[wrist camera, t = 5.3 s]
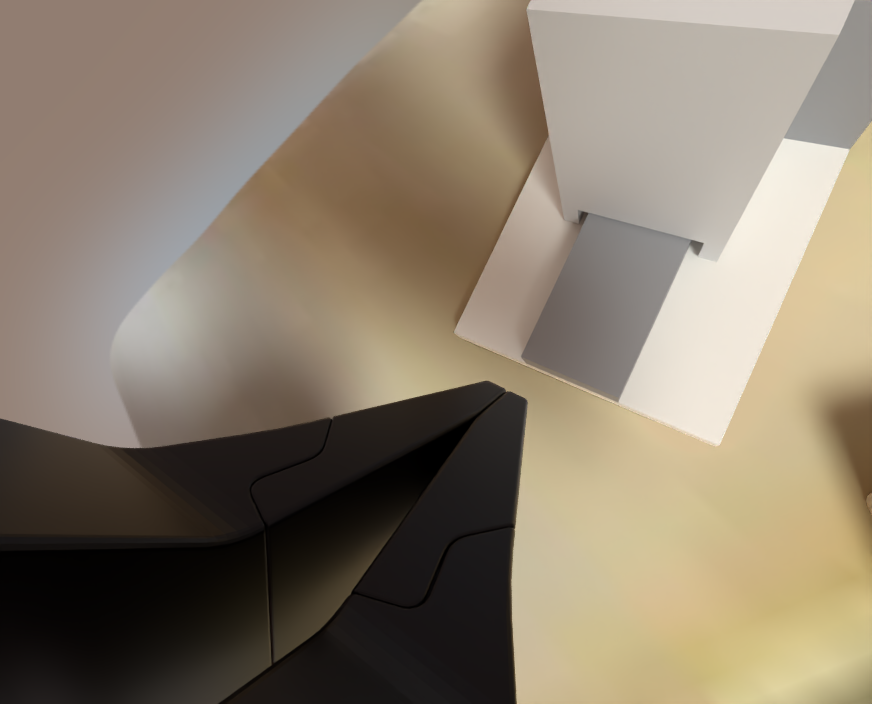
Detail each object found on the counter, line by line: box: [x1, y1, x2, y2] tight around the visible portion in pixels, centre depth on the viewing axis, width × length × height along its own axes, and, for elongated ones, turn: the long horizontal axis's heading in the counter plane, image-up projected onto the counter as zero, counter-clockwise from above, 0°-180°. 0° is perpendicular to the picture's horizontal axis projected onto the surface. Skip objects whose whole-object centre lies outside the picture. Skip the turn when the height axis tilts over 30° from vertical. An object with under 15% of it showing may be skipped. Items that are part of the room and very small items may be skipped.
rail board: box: [453, 0, 872, 446], centre depth 15 cm, size 12×10×6 cm
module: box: [526, 0, 855, 262], centre depth 12 cm, size 5×6×10 cm
